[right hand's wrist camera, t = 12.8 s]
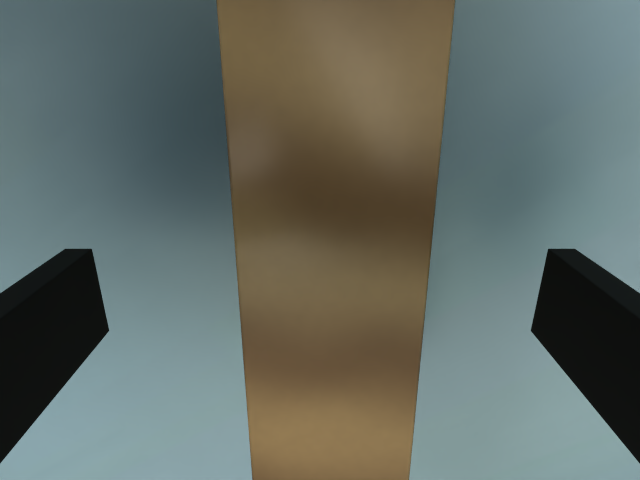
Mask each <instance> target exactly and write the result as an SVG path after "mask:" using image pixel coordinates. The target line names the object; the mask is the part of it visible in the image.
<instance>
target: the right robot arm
mask: <svg viewBox="0 0 640 480" xmlns="http://www.w3.org/2000/svg"><path fill="white" fill-rule="evenodd" d="M108 331H109V328H108V323H107V318H106V314H105V309H104V304H103V299H102V295H101V290H100V285H99V281H98V276H97V271H96V266H95V262H94V257H93V252H92V249H64V250H63V251H61V252H60V253H58V254H57V255H56V256H54V257H53V258H51V259H50V260H48V261H47V262H45V263H44V264H42V265H41V266H39V267H38V268H37V269H35V270H34V271H32V272H31V273H29V274H28V275H26V276H25V277H23V278H22V279H21V280H19V281H18V282H16V283H15V284H13V285H12V286H10V287H9V288H7V289H6V290H5V291H3V292H2V293H0V463H1V462H2V461H3V459H4V458H5V457H6V456H7V454H8V453H9V452H10V451H11V450H12V448H13V447H14V446H15V445H16V444H17V442H18V441H19V440H20V439H21V437H22V436H23V435H24V434H25V433H26V431H27V430H28V429H29V428H30V426H31V425H32V424H33V423H34V422H35V420H36V419H37V418H38V417H39V416H40V414H41V413H42V412H43V411H44V409H45V408H46V407H47V406H48V405H49V403H50V402H51V401H52V400H53V398H54V397H55V396H56V395H57V394H58V392H59V391H60V390H61V389H62V387H63V386H64V385H65V384H66V383H67V381H68V380H69V379H70V378H71V377H72V375H73V374H74V373H75V372H76V370H77V369H78V368H79V367H80V366H81V364H82V363H83V362H84V361H85V359H86V358H87V357H88V356H89V355H90V353H91V352H92V351H93V350H94V349H95V347H96V346H97V345H98V344H99V342H100V341H101V340H102V339H103V338H104V336H105V335H106V334H107V333H108ZM531 331H532V333H533V334H534V335H535V336H536V338H537V339H538V340H539V341H540V342H541V344H542V345H543V346H544V347H545V349H546V350H547V351H548V352H549V353H550V355H551V356H552V357H553V358H554V359H555V361H556V362H557V363H558V364H559V366H560V367H561V368H562V369H563V370H564V372H565V373H566V374H567V375H568V377H569V378H570V379H571V380H572V381H573V383H574V384H575V385H576V386H577V387H578V389H579V390H580V391H581V392H582V394H583V395H584V396H585V397H586V398H587V400H588V401H589V402H590V403H591V405H592V406H593V407H594V408H595V409H596V411H597V412H598V413H599V414H600V416H601V417H602V418H603V419H604V420H605V422H606V423H607V424H608V425H609V426H610V428H611V429H612V430H613V431H614V433H615V434H616V435H617V436H618V437H619V439H620V440H621V441H622V442H623V444H624V445H625V446H626V447H627V448H628V450H629V451H630V452H631V453H632V454H633V456H634V457H635V458H636V459H637V461H638V462H639V463H640V293H638V292H637V291H635V290H634V289H633V288H631V287H630V286H628V285H627V284H625V283H624V282H622V281H621V280H619V279H618V278H617V277H615V276H614V275H612V274H611V273H609V272H608V271H606V270H605V269H603V268H602V267H601V266H599V265H598V264H596V263H595V262H593V261H592V260H590V259H589V258H587V257H586V256H584V255H583V254H582V253H580V252H579V251H577V250H576V249H548V252H547V257H546V262H545V266H544V271H543V276H542V281H541V285H540V290H539V295H538V299H537V304H536V309H535V314H534V318H533V323H532V328H531Z"/></svg>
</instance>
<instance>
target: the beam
mask: <svg viewBox="0 0 640 480" xmlns="http://www.w3.org/2000/svg"><path fill="white" fill-rule="evenodd" d="M216 1H217V15H218V28H219V41H220V55H221V68H222V81H223V95H224V108H225V121H226V134H227V148H228V161H229V174H230V188H231V201H232V214H233V227H234V241H235V254H236V267H237V281H238V294H239V307H240V321H241V334H242V347H243V360H244V374H245V387H246V400H247V414H248V427H249V440H250V453H251V467H252V480H409V474H410V464H411V453H412V443H413V433H414V422H415V412H416V402H417V391H418V381H419V370H420V360H421V350H422V339H423V329H424V319H425V308H426V298H427V288H428V277H429V267H430V257H431V246H432V236H433V226H434V215H435V205H436V195H437V184H438V174H439V163H440V153H441V143H442V132H443V122H444V112H445V101H446V91H447V81H448V70H449V60H450V50H451V39H452V29H453V19H454V8H455V0H216Z"/></svg>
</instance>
